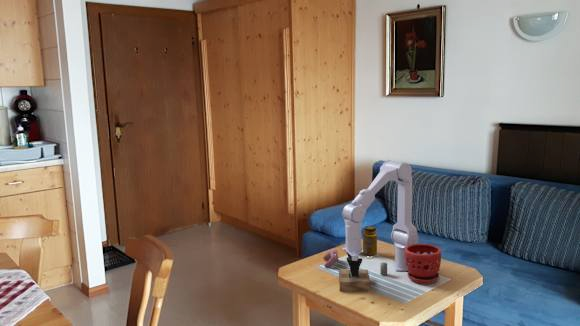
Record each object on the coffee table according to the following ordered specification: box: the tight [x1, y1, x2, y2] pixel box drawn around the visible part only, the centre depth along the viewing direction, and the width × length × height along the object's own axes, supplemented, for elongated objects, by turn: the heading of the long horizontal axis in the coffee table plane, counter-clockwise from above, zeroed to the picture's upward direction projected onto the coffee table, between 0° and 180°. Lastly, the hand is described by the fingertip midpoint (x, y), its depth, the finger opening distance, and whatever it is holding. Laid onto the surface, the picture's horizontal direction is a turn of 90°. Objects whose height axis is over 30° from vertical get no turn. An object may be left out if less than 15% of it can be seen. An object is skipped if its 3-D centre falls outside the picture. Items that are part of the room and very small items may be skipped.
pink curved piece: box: [322, 248, 340, 269], centre depth 200 cm, size 10×5×7 cm, turn 179°
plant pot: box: [405, 243, 442, 284], centre depth 182 cm, size 13×13×12 cm
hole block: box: [338, 269, 371, 292], centre depth 179 cm, size 11×11×4 cm
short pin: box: [379, 262, 388, 277], centre depth 187 cm, size 3×3×4 cm
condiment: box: [358, 225, 381, 260], centre depth 209 cm, size 7×8×12 cm
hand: (353, 272), depth 179 cm, fingers open, 7 cm apart
